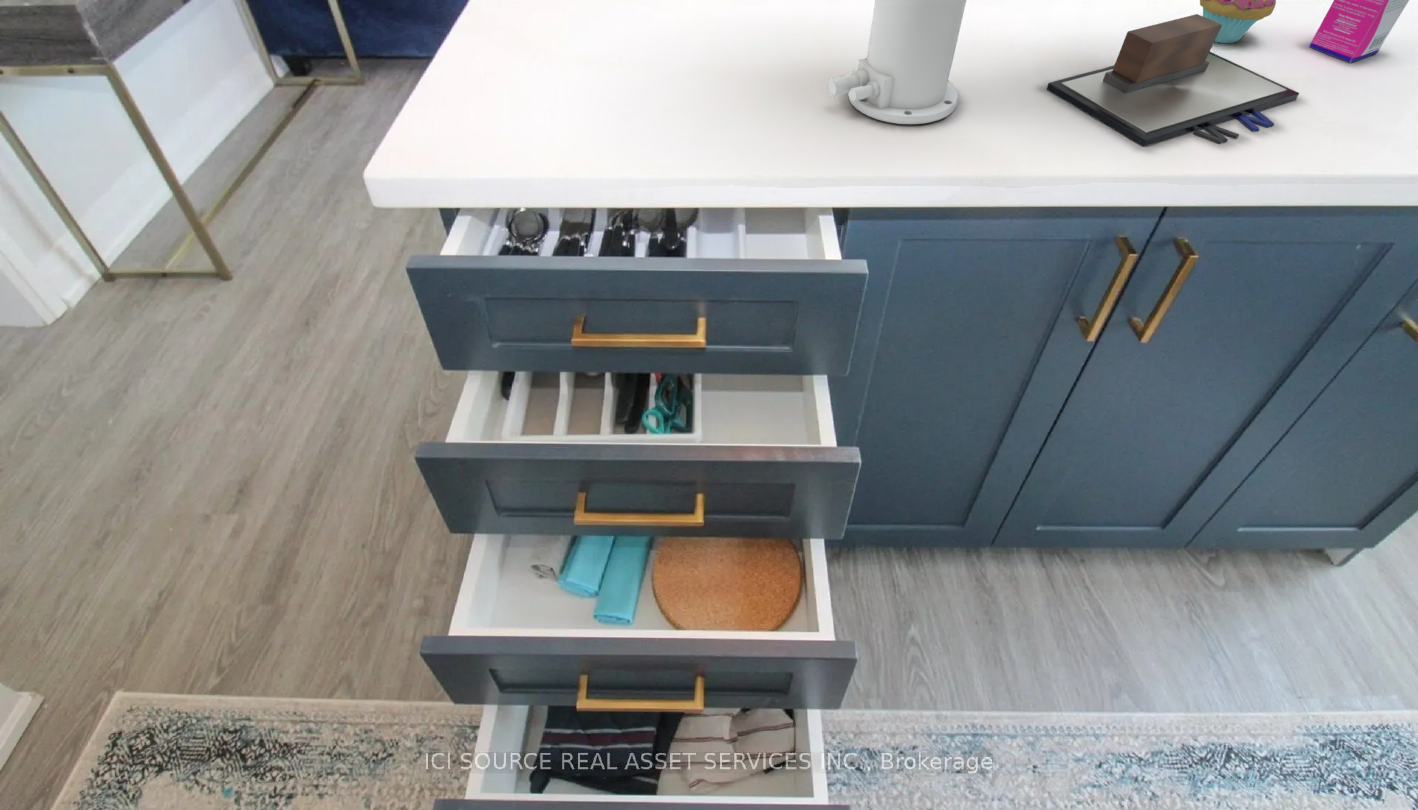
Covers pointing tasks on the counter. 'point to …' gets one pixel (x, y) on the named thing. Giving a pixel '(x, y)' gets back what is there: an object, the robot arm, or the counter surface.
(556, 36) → the counter surface
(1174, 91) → the whiteboard
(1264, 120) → the scribble
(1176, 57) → the eraser
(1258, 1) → the cupcake
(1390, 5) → the supplement box
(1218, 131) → the scribble
